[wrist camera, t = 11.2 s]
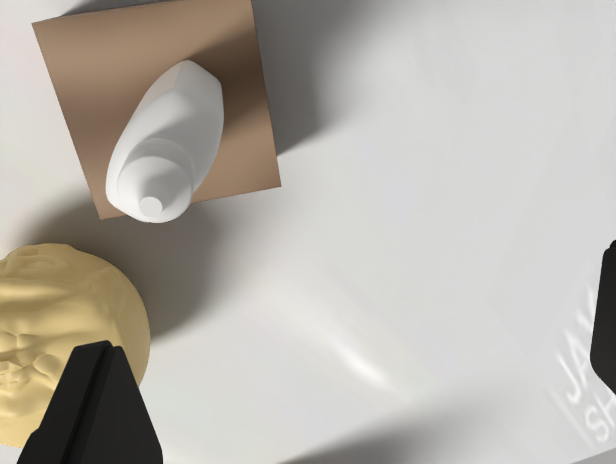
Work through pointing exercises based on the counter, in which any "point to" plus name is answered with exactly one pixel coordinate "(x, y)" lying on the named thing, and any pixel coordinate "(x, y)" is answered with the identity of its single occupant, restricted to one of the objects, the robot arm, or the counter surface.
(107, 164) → the walnut base
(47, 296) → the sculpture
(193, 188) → the eye dropper bottle
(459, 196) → the counter surface
